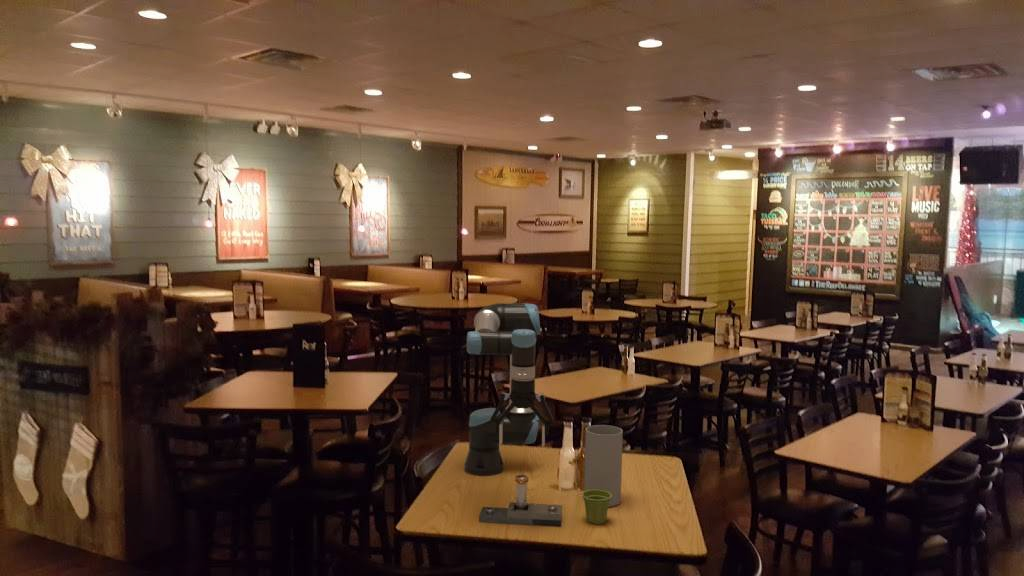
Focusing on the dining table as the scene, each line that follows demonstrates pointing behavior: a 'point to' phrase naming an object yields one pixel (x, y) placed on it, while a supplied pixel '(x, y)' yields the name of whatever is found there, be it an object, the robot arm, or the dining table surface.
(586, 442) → the cylinder vase
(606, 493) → the plant pot
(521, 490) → the pin
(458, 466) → the dining table surface
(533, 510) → the stand base plate
